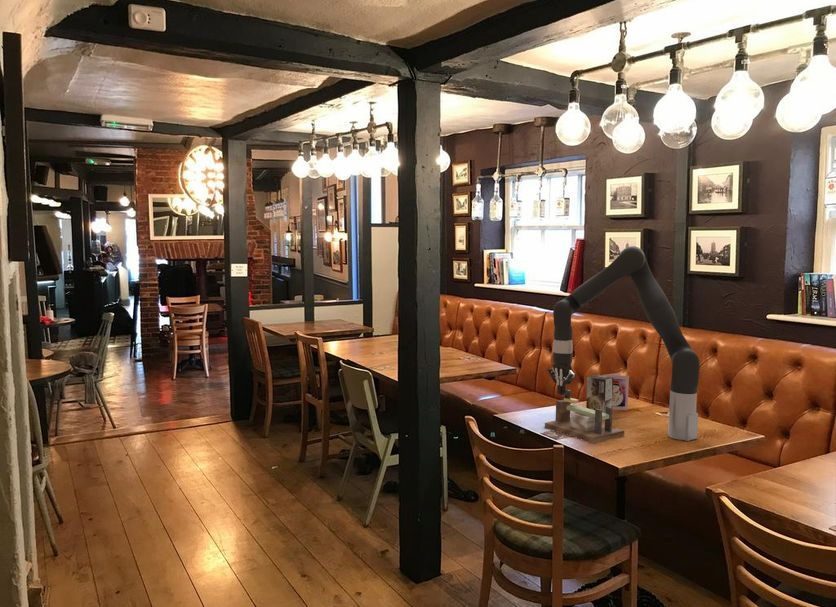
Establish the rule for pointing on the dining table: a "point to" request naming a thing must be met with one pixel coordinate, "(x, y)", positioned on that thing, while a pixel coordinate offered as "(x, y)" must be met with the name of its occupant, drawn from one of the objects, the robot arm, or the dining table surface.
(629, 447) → the dining table surface
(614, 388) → the greeting card
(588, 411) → the pale green flat bar
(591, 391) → the coffee box
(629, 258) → the robot arm
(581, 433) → the latch base
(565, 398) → the bolt
